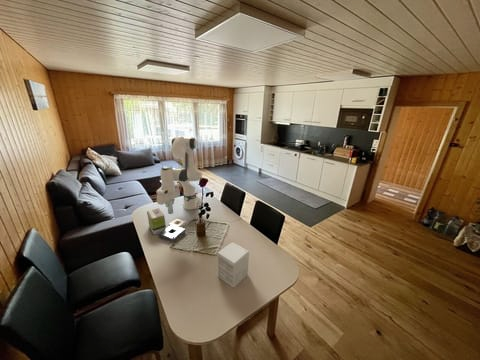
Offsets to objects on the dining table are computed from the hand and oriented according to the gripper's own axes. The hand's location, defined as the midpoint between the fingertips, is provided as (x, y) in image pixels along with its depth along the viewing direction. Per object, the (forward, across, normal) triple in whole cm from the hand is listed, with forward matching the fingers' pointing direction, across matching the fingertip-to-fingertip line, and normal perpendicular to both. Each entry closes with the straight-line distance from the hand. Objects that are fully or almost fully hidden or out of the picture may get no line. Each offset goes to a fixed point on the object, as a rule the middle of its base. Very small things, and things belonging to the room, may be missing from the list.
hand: (170, 205), depth 145 cm
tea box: (+26, -2, -18) cm, 31 cm away
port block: (+26, 0, 0) cm, 26 cm away
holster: (+25, -13, -6) cm, 29 cm away
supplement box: (+27, +16, +60) cm, 68 cm away
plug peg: (+6, 0, 0) cm, 6 cm away
